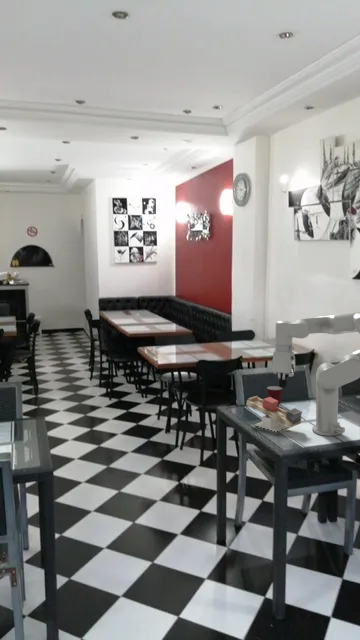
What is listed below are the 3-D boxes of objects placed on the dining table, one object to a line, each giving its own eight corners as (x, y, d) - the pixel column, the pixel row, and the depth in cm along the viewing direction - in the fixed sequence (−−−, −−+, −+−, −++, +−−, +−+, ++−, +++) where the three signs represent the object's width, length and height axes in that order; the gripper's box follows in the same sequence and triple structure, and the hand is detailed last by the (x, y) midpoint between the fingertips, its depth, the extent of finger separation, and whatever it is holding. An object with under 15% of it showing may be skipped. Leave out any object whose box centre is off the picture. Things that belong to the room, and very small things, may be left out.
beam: (301, 424, 236) (303, 410, 234) (289, 429, 230) (292, 415, 228) (256, 402, 254) (259, 389, 252) (245, 406, 247) (247, 393, 246)
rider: (276, 410, 243) (278, 400, 242) (270, 412, 240) (272, 403, 238) (268, 406, 246) (269, 396, 245) (261, 408, 243) (263, 399, 242)
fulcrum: (289, 426, 242) (290, 415, 241) (276, 432, 234) (276, 420, 234) (269, 420, 251) (269, 410, 250) (255, 426, 243) (255, 415, 242)
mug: (278, 410, 267) (278, 391, 266) (263, 408, 270) (263, 390, 269) (283, 405, 276) (283, 386, 275) (269, 403, 280) (269, 385, 278)
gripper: (302, 349, 231) (301, 388, 233) (274, 344, 241) (274, 383, 244) (292, 351, 225) (292, 391, 228) (265, 347, 236) (264, 385, 239)
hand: (282, 387), depth 236 cm, fingers closed
